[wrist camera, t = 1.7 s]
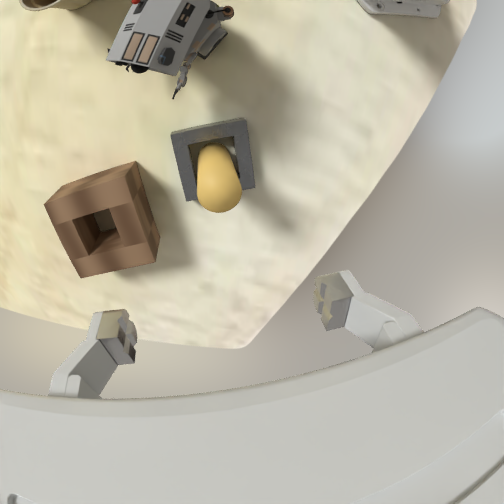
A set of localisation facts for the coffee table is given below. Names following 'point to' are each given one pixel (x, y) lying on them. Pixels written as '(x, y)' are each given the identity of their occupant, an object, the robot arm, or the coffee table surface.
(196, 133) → the collar
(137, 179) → the socket
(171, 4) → the figurine
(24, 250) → the coffee table surface
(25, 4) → the flower pot
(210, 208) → the pin
